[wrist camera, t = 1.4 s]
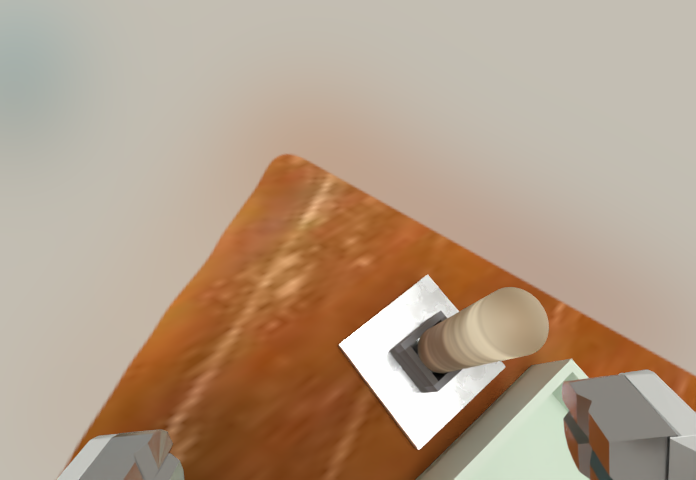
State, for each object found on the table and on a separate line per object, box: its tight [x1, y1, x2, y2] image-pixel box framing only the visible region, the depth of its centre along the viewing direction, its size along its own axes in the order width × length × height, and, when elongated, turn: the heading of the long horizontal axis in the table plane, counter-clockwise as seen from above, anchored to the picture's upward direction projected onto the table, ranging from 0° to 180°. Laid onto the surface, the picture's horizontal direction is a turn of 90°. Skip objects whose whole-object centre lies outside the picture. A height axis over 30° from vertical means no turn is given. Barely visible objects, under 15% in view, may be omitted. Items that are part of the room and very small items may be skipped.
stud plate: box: [338, 275, 505, 450], centre depth 41 cm, size 12×12×6 cm
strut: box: [389, 287, 549, 393], centre depth 34 cm, size 5×5×19 cm
